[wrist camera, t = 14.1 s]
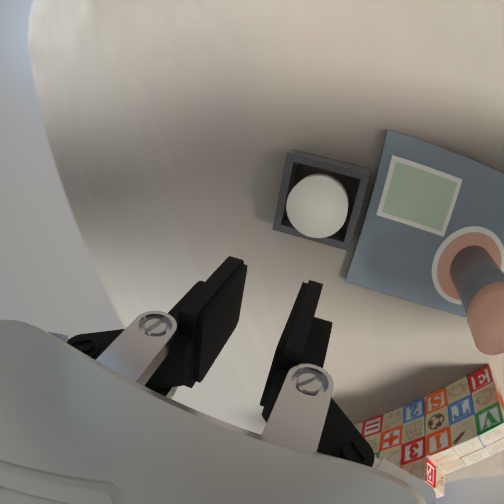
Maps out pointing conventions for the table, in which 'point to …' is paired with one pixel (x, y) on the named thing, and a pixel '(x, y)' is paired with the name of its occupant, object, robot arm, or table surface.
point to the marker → (481, 296)
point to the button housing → (363, 174)
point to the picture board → (426, 221)
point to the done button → (318, 205)
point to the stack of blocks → (442, 429)
